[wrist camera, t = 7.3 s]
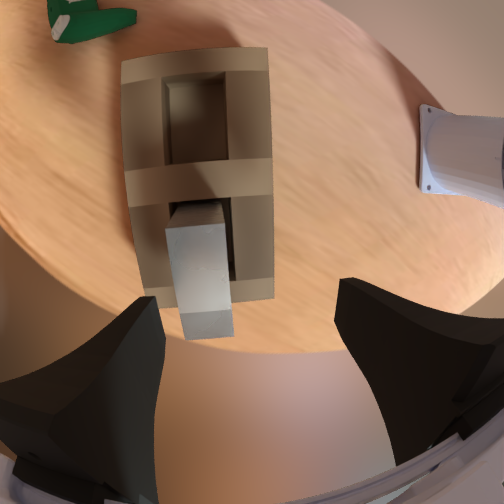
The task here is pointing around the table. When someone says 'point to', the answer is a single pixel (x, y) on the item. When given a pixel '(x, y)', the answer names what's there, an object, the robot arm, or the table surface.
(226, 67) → the tan divided tray
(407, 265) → the table surface
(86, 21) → the green elongated piece
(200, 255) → the white rectangular pillar
